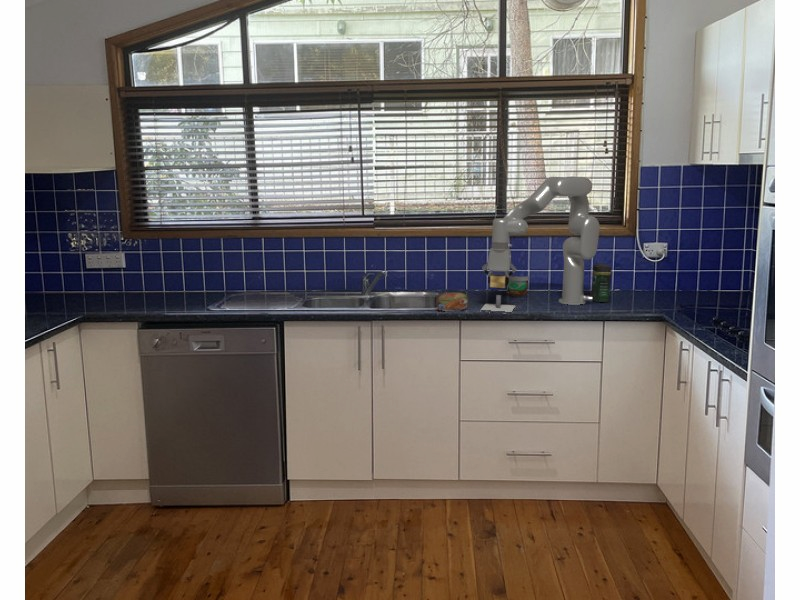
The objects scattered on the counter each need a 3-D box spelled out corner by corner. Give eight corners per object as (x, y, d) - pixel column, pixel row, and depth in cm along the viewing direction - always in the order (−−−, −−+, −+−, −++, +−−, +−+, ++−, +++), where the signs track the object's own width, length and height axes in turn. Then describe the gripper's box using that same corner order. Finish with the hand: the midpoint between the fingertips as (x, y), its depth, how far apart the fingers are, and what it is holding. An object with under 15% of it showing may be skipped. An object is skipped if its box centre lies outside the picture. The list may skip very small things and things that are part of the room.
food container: (503, 295, 350) (503, 276, 348) (504, 293, 355) (505, 274, 353) (527, 297, 346) (528, 277, 344) (529, 295, 352) (529, 275, 350)
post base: (515, 307, 322) (515, 293, 320) (511, 313, 308) (512, 298, 307) (485, 305, 325) (485, 291, 324) (480, 311, 312) (481, 297, 311)
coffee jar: (611, 303, 332) (613, 265, 329) (594, 303, 332) (597, 265, 329) (605, 299, 342) (607, 262, 338) (589, 299, 342) (591, 262, 338)
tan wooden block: (506, 285, 317) (506, 274, 316) (504, 288, 311) (504, 277, 310) (492, 284, 318) (492, 274, 318) (490, 287, 312) (490, 276, 311)
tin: (437, 312, 311) (437, 294, 310) (435, 310, 314) (435, 292, 313) (468, 310, 315) (469, 292, 314) (466, 309, 318) (466, 291, 317)
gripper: (520, 246, 312) (518, 285, 316) (482, 244, 317) (480, 282, 320) (518, 247, 305) (516, 287, 309) (479, 246, 310) (478, 285, 313)
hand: (498, 284), depth 314 cm, fingers closed on tan wooden block, 6 cm apart
